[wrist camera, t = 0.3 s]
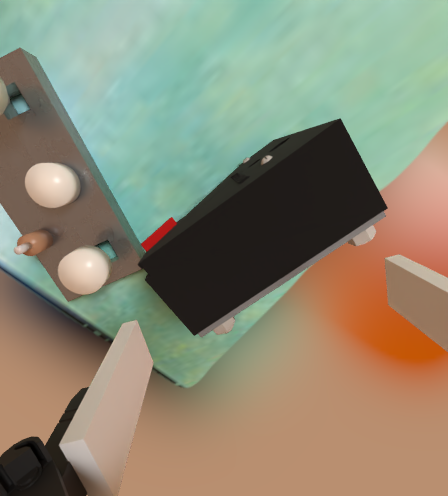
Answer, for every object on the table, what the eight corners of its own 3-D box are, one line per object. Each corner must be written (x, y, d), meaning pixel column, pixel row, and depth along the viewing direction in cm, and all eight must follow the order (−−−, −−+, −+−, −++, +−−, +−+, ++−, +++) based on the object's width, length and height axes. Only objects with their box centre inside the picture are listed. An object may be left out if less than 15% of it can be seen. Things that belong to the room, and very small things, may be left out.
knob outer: (71, 248, 36) (48, 263, 31) (106, 232, 36) (89, 244, 30) (92, 281, 37) (74, 301, 32) (126, 266, 37) (113, 283, 32)
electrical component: (209, 267, 43) (210, 354, 23) (165, 213, 40) (127, 260, 21) (309, 198, 40) (400, 231, 21) (270, 135, 38) (335, 109, 19)
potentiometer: (27, 234, 37) (1, 245, 32) (45, 226, 36) (21, 235, 32) (39, 251, 37) (15, 265, 33) (57, 243, 37) (34, 255, 32)
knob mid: (42, 172, 37) (15, 174, 32) (76, 156, 37) (54, 155, 31) (64, 207, 38) (41, 214, 33) (97, 192, 38) (79, 197, 33)
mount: (-50, 101, 34) (-74, 96, 32) (36, 57, 34) (20, 47, 31) (77, 292, 43) (67, 301, 40) (149, 260, 42) (145, 267, 39)
